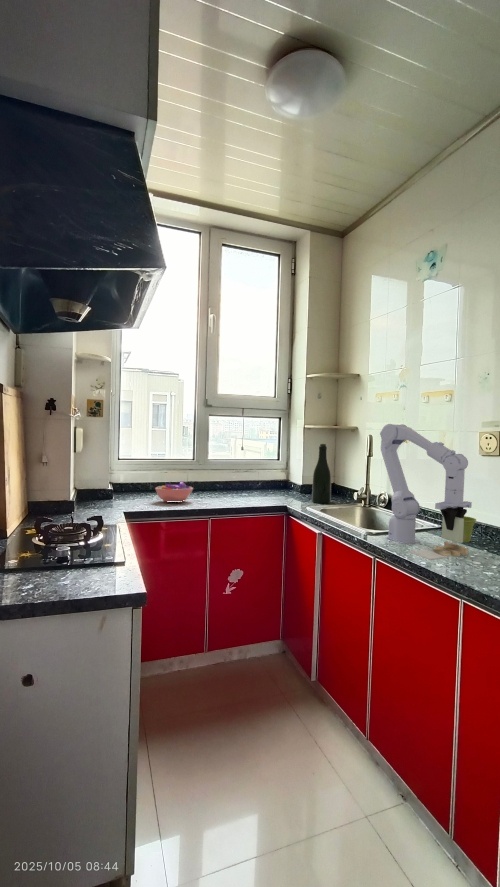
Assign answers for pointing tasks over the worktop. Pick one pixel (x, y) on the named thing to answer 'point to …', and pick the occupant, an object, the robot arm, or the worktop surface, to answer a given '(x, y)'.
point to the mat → (427, 554)
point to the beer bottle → (322, 478)
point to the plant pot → (468, 528)
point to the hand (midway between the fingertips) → (452, 529)
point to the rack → (454, 549)
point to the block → (454, 530)
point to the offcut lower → (441, 554)
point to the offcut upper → (442, 551)
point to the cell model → (174, 492)
